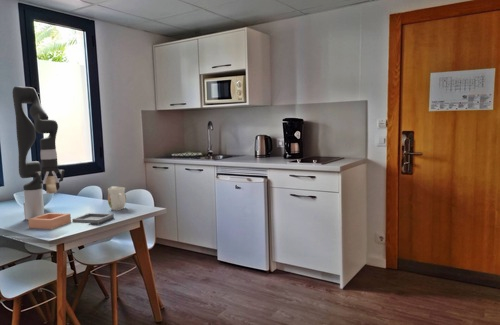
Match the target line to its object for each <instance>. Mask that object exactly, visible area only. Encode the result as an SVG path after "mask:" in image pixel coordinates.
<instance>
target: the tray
mask: <svg viewBox="0 0 500 325" xmlns="http://www.w3.org/2000/svg"><path fill="white" fill-rule="evenodd" d="M113 219H115V216H114V213H100V212H99V213H97V212H96V213H95V212H88V213H86V214H83V215H80V216H77V217H74V218H72V220H71V221H72V222H73V223H85V224H86V223H88V224H89V225H95V226H96V225H97V226H100V225H101V224H103V223H106V222H108V221H111V220H113Z"/></svg>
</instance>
